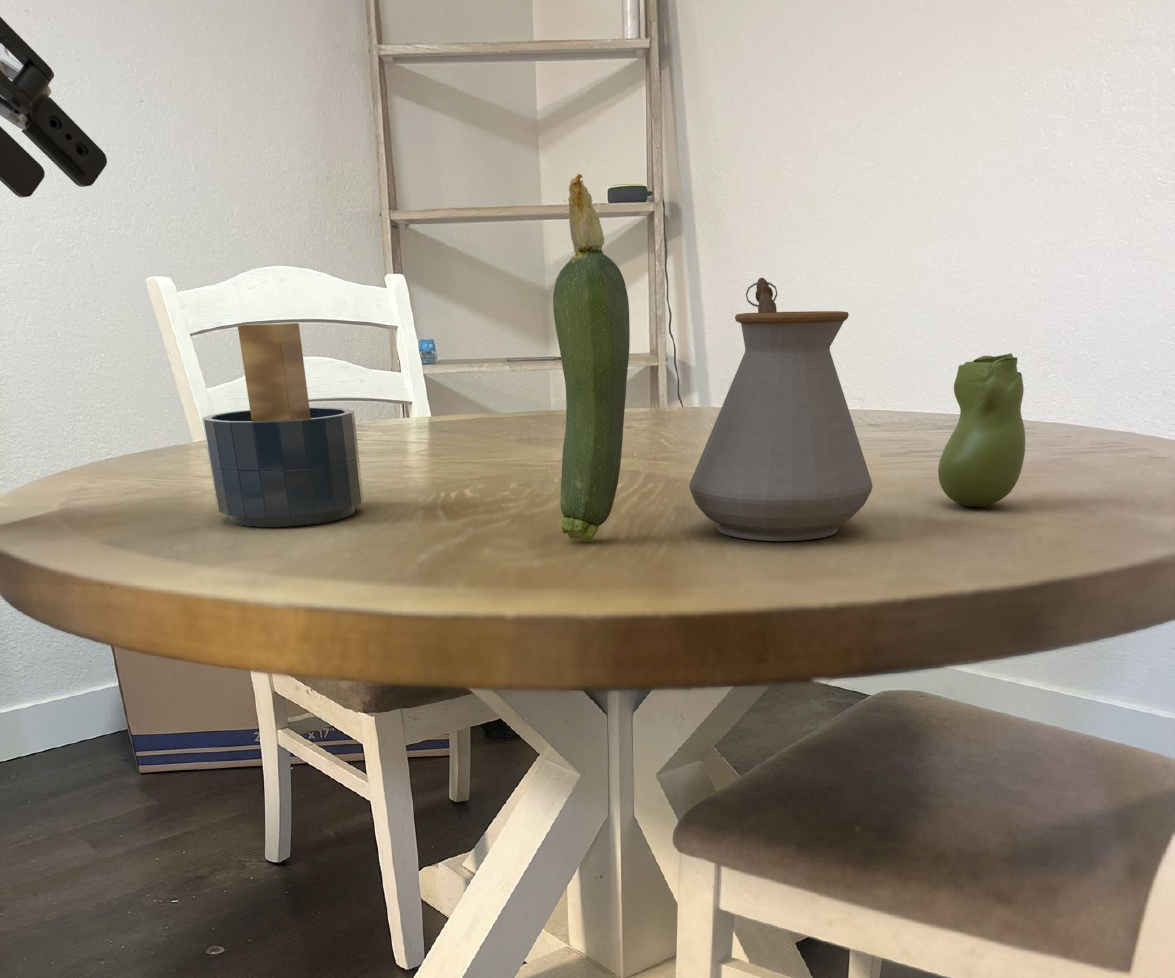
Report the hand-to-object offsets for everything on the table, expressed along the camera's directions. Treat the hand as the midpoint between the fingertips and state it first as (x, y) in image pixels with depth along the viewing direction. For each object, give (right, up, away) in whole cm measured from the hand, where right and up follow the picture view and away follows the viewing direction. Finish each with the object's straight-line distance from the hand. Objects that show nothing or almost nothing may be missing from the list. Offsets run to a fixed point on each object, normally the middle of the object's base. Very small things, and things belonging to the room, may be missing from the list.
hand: (64, 181), depth 60 cm
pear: (+57, -15, +14) cm, 61 cm away
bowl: (+8, -15, +16) cm, 24 cm away
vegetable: (+30, -19, +6) cm, 37 cm away
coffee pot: (+42, -16, +13) cm, 47 cm away
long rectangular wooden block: (+9, -14, +16) cm, 23 cm away
